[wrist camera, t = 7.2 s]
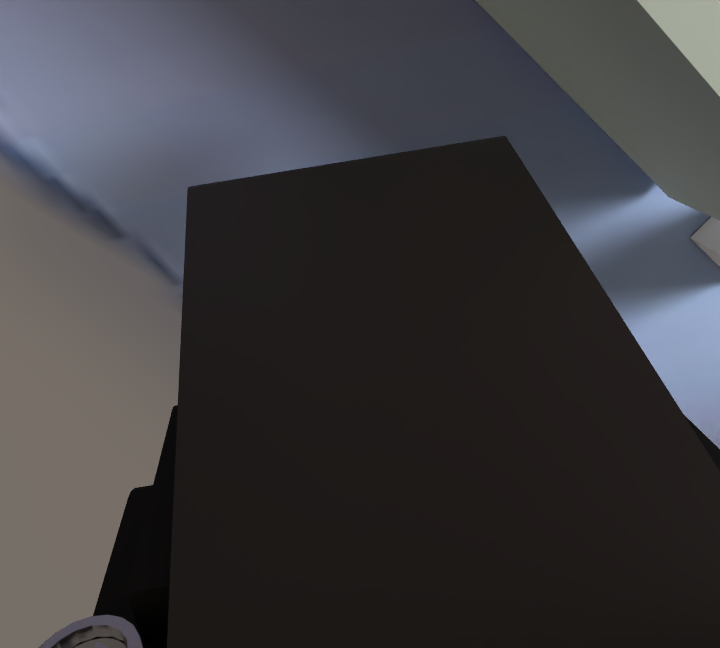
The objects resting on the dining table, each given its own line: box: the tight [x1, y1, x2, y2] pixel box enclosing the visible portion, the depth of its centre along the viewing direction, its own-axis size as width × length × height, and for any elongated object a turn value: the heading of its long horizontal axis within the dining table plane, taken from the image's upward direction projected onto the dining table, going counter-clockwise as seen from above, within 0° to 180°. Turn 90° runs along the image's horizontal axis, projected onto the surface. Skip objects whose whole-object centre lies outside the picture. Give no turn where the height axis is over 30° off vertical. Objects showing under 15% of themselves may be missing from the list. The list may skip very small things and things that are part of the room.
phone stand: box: [167, 136, 720, 648], centre depth 9 cm, size 9×6×12 cm, turn 7°
